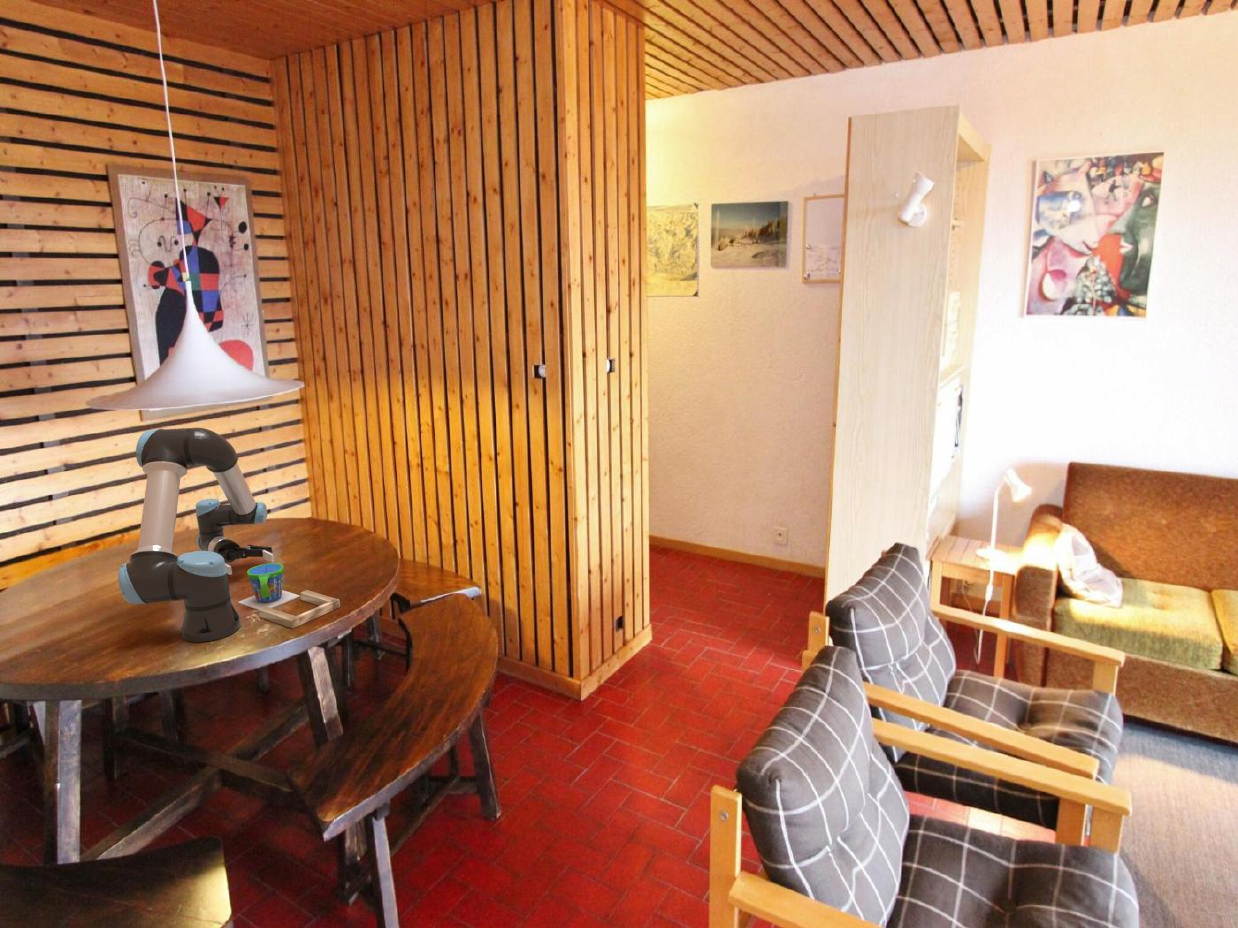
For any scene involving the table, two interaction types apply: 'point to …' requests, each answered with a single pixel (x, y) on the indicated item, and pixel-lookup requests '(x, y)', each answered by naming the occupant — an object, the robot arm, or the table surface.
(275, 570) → the snack cup
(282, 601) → the grey mat
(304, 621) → the wooden frame
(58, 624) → the table surface
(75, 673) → the table surface
